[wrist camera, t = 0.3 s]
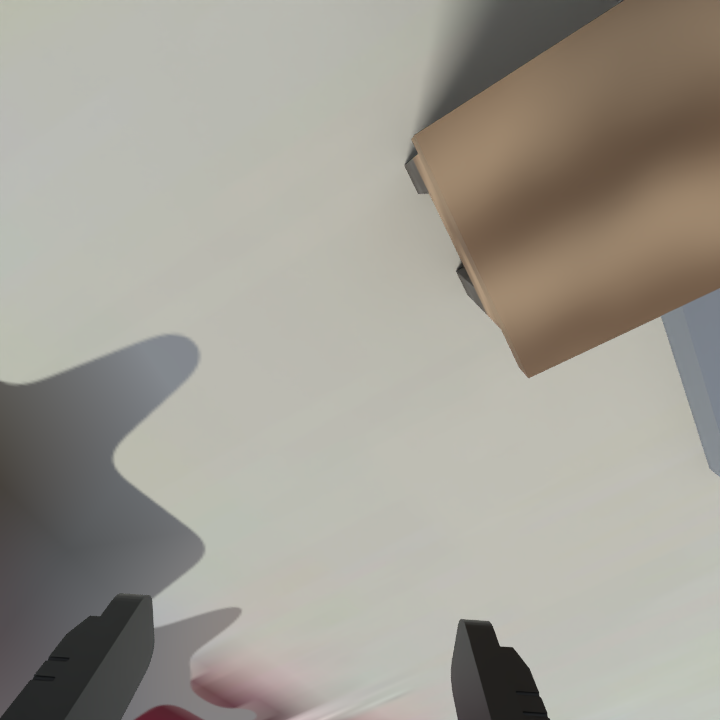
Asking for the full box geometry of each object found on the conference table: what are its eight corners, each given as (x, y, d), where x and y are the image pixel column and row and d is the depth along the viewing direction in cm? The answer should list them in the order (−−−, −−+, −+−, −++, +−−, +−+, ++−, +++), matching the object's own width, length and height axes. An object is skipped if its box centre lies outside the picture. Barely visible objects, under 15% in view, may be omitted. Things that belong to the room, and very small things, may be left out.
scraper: (578, 258, 29) (600, 265, 26) (726, 181, 27) (767, 180, 24) (663, 484, 36) (687, 508, 33) (785, 437, 34) (822, 459, 31)
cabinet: (394, 162, 27) (414, 134, 14) (851, -128, 21) (1521, -578, 9) (464, 303, 30) (528, 378, 18) (873, 87, 24) (1373, -20, 12)
